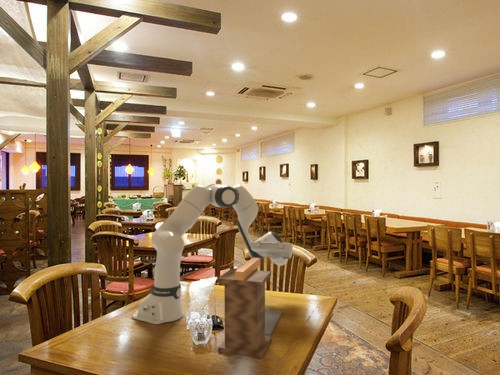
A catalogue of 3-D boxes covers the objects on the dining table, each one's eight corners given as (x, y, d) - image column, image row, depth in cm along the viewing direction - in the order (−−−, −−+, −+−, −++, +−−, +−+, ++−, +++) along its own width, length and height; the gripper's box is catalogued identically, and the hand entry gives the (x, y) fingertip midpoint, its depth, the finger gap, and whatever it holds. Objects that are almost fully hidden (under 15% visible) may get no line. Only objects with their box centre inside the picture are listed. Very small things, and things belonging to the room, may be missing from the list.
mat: (235, 332, 131) (235, 329, 131) (252, 310, 154) (252, 307, 154) (269, 336, 127) (269, 334, 127) (282, 313, 150) (282, 311, 150)
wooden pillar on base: (217, 351, 116) (217, 278, 116) (231, 334, 130) (231, 268, 130) (261, 358, 112) (261, 282, 111) (271, 339, 125) (270, 271, 125)
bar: (235, 279, 114) (234, 271, 114) (252, 264, 135) (252, 257, 135) (243, 280, 113) (243, 271, 113) (259, 265, 134) (259, 257, 134)
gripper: (255, 244, 169) (247, 235, 157) (295, 245, 163) (289, 236, 151) (254, 256, 166) (245, 248, 155) (294, 258, 160) (288, 250, 148)
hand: (268, 242), depth 153 cm, fingers open, 8 cm apart
